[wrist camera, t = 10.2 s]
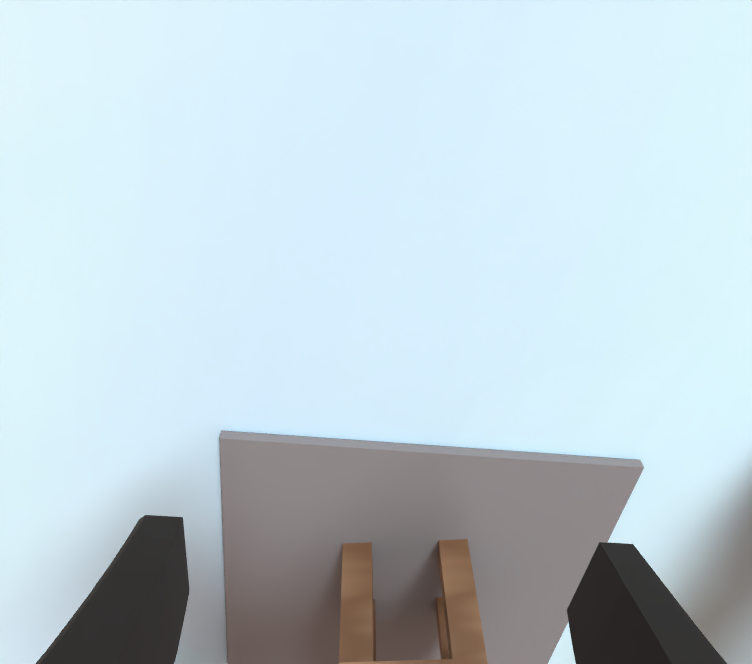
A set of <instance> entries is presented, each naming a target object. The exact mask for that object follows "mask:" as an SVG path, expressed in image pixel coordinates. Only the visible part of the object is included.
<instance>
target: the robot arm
mask: <svg viewBox="0 0 752 664" xmlns="http://www.w3.org/2000/svg"><path fill="white" fill-rule="evenodd" d="M188 595H189V581H188V570H187V559H186V548H185V537H184V526H183V517H168V516H151V515H145V516H144V517H142V518H141V519H139V521H138V522H137V524H136V526H135V527H134V529H133V531H132V532H131V534H130V535H129V537H128V539H127V540H126V542H125V543H124V545H123V546H122V548H121V549H120V551H119V552H118V554H117V555H116V557H115V558H114V560H113V561H112V563H111V564H110V566H109V567H108V569H107V570H106V571H105V573H104V574H103V576H102V577H101V578H100V580H99V581H98V583H97V584H96V586H95V587H94V588H93V590H92V591H91V593H90V594H89V595H88V597H87V598H86V599H85V601H84V602H83V603H82V605H81V606H80V607H79V609H78V610H77V611H76V613H75V614H74V615H73V617H72V618H71V619H70V621H69V622H68V623H67V625H66V626H65V627H64V629H63V630H62V631H61V633H60V634H59V635H58V637H57V638H56V639H55V640H54V642H53V643H52V644H51V646H50V647H49V648H48V649H47V651H46V652H45V653H44V654H43V655H42V657H41V658H40V659H39V660H38V661H37V663H36V664H174V661H175V657H176V654H177V650H178V645H179V640H180V635H181V630H182V626H183V621H184V615H185V610H186V605H187V600H188ZM567 615H568V621H569V627H570V633H571V639H572V645H573V650H574V655H575V661H576V664H727V663H726V662H725V661H724V660H723V658H722V657H721V656H720V655H719V653H718V652H717V651H716V650H715V649H714V647H713V646H712V645H711V644H710V642H709V641H708V640H707V639H706V637H705V636H704V635H703V634H702V632H701V631H700V630H699V629H698V627H697V626H696V625H695V624H694V622H693V621H692V620H691V618H690V617H689V616H688V615H687V613H686V612H685V611H684V610H683V608H682V607H681V606H680V604H679V603H678V602H677V601H676V599H675V598H674V597H673V595H672V594H671V593H670V591H669V590H668V589H667V588H666V586H665V585H664V584H663V582H662V581H661V580H660V578H659V577H658V576H657V575H656V573H655V572H654V571H653V569H652V568H651V567H650V566H649V564H648V563H647V562H646V560H645V559H644V558H643V557H642V555H641V554H640V553H639V551H638V550H637V549H636V548H635V546H634V545H633V544H621V543H604V542H599V544H598V546H597V548H596V550H595V552H594V554H593V556H592V559H591V561H590V563H589V565H588V567H587V569H586V571H585V573H584V575H583V577H582V579H581V581H580V583H579V586H578V588H577V590H576V592H575V594H574V596H573V598H572V600H571V602H570V604H569V606H568V608H567Z"/></svg>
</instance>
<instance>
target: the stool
mask: <svg viewBox="0 0 752 664" xmlns="http://www.w3.org/2000/svg"><path fill="white" fill-rule="evenodd" d="M438 562H439V571H440V580H441V589H442V597H437V600H436V617H437V627H438V636H439V646H440V656H441V659H433V660H402V661H376V612H375V599H373V559H372V542H370V543H343V553H342V584H341V614H340V645H339V664H488V662H487V656H486V649H485V643H484V637H483V631H482V625H481V619H480V613H479V607H478V600H477V594H476V588H475V582H474V576H473V570H472V564H471V558H470V551H469V545H468V539H458V540H439V545H438Z"/></svg>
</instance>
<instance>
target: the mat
mask: <svg viewBox="0 0 752 664" xmlns="http://www.w3.org/2000/svg"><path fill="white" fill-rule="evenodd" d="M219 440H220V467H221V494H222V521H223V547H224V574H225V601H226V628H227V654H228V664H339V645H340V614H341V584H342V553H343V543H370V542H372V559H373V599H375V612H376V661H402V660H433V659H441V656H440V646H439V636H438V627H437V617H436V600H437V597H442V589H441V580H440V571H439V562H438V545H439V540H458V539H468V545H469V551H470V558H471V564H472V570H473V576H474V582H475V588H476V594H477V600H478V607H479V613H480V619H481V625H482V631H483V637H484V643H485V649H486V656H487V662H488V664H548V662H549V659H550V657H551V655H552V653H553V651H554V649H555V647H556V645H557V643H558V641H559V639H560V637H561V635H562V633H563V631H564V629H565V627H566V625H567V623H568V615H567V608H568V606H569V604H570V602H571V600H572V598H573V596H574V594H575V592H576V590H577V588H578V586H579V583H580V581H581V579H582V577H583V575H584V573H585V571H586V569H587V567H588V565H589V563H590V561H591V559H592V556H593V554H594V552H595V550H596V548H597V546H598V544H599V542H604V543H607V542H608V540H609V538H610V536H611V534H612V531H613V529H614V527H615V525H616V523H617V521H618V519H619V517H620V515H621V513H622V511H623V509H624V507H625V505H626V503H627V501H628V499H629V497H630V495H631V493H632V491H633V489H634V487H635V485H636V483H637V481H638V479H639V477H640V475H641V473H642V471H643V468H644V467H643V465H642V463H641V461H640V460H632V459H618V458H603V457H589V456H575V455H561V454H546V453H532V452H518V451H503V450H489V449H475V448H461V447H446V446H432V445H418V444H404V443H389V442H375V441H361V440H346V439H332V438H318V437H304V436H289V435H275V434H261V433H246V432H232V431H221V434H220V438H219Z"/></svg>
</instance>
